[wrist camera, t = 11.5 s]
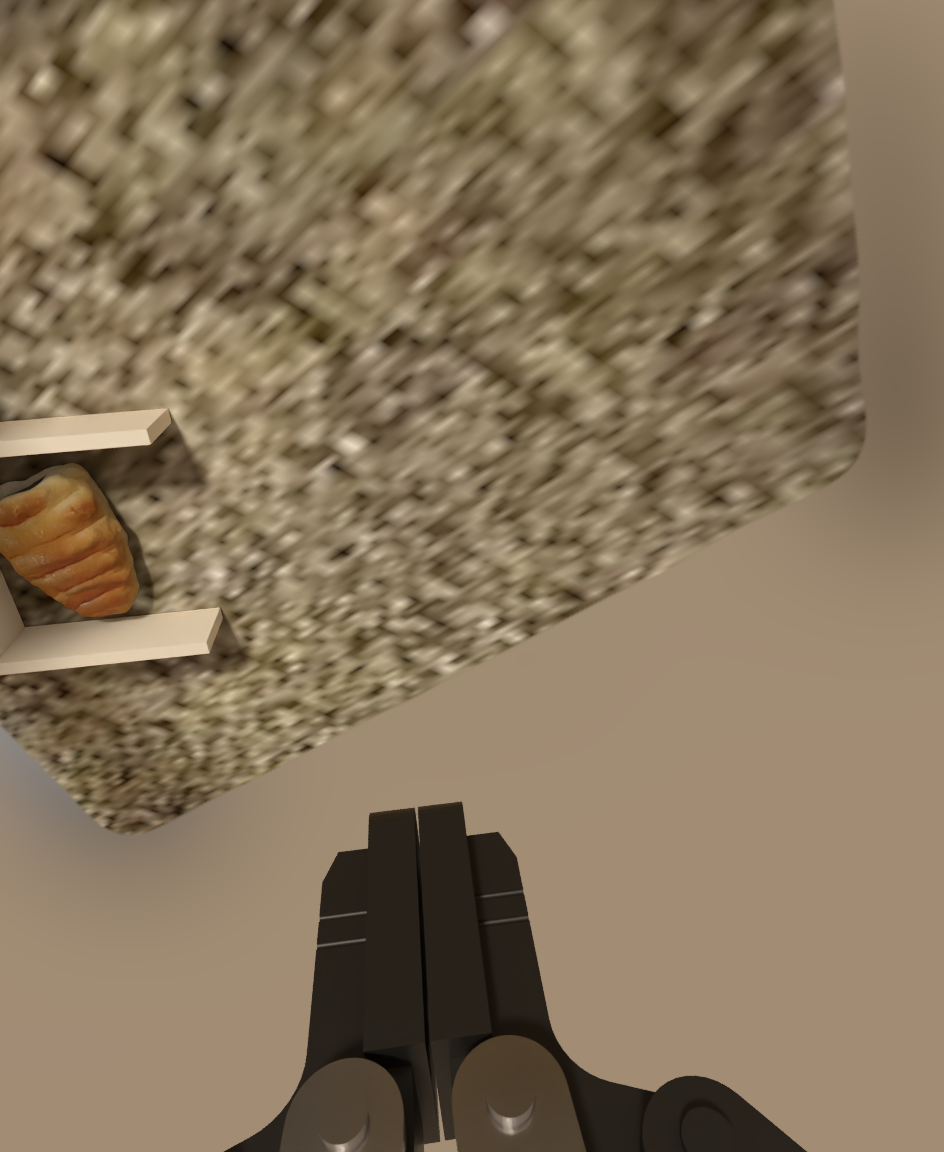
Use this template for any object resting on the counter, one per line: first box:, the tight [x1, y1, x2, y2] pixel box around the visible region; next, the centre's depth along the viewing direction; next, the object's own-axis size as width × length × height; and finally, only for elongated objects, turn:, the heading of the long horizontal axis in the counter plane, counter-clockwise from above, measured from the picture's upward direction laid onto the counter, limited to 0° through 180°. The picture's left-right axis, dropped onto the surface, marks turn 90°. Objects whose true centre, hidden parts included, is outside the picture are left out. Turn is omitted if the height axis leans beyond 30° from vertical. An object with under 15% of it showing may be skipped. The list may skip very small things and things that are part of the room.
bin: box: [0, 408, 223, 675], centre depth 40 cm, size 14×13×4 cm
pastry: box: [0, 463, 139, 617], centre depth 40 cm, size 9×7×4 cm
